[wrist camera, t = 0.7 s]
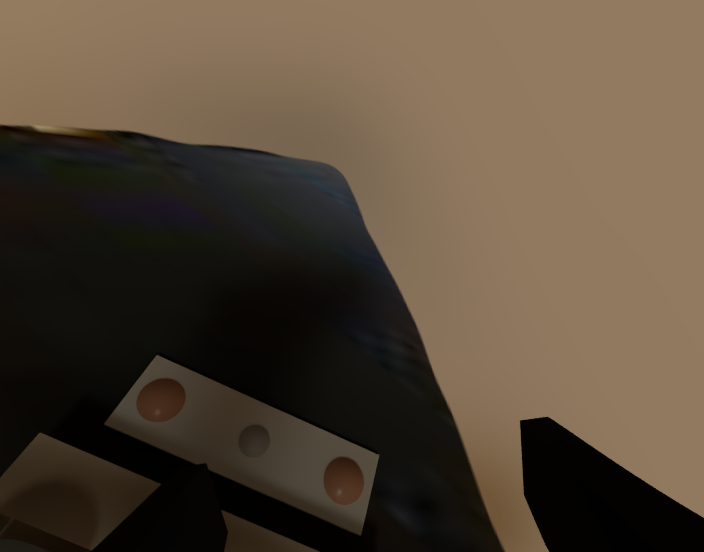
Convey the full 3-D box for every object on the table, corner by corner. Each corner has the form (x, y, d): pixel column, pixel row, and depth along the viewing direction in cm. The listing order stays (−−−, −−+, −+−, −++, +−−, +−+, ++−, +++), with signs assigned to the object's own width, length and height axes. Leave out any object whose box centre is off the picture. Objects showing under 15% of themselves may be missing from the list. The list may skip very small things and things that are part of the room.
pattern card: (359, 535, 24) (361, 535, 24) (104, 425, 23) (103, 423, 22) (377, 456, 27) (379, 454, 27) (157, 357, 26) (156, 354, 26)
